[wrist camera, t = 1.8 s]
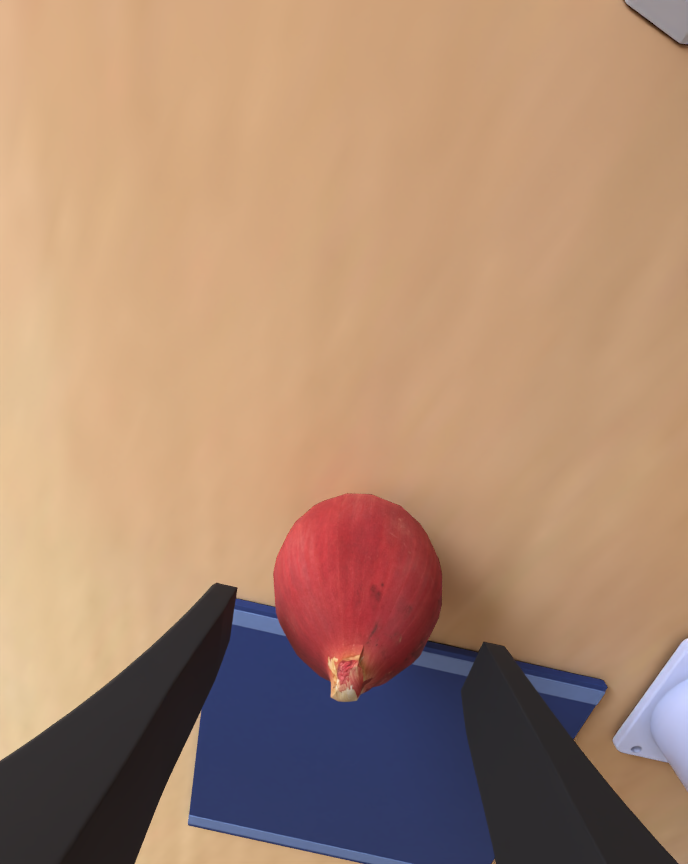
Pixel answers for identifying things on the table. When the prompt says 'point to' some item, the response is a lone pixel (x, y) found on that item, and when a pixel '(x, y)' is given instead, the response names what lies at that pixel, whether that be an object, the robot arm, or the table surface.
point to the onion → (357, 591)
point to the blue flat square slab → (351, 752)
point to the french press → (665, 16)
